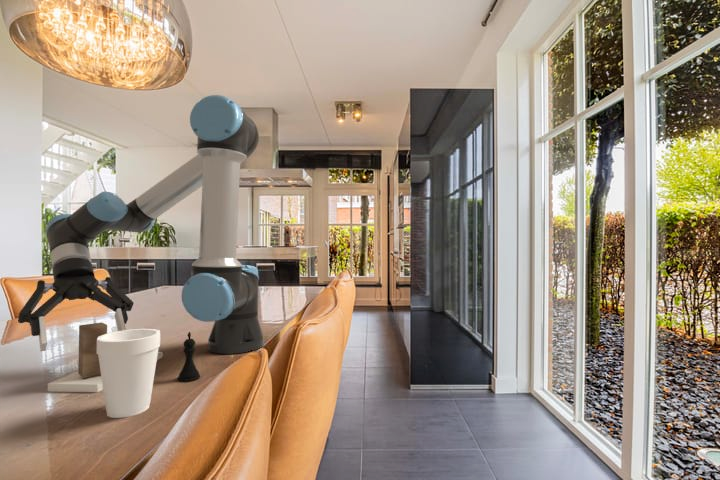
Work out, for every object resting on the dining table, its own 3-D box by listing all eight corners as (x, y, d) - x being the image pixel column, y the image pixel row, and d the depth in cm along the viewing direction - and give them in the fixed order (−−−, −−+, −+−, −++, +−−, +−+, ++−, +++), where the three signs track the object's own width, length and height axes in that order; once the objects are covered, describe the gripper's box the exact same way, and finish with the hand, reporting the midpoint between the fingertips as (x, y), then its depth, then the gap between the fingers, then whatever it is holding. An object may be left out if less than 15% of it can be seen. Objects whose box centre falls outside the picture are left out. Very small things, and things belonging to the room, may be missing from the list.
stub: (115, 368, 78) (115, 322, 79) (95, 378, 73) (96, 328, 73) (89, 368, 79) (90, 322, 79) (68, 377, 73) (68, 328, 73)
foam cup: (116, 398, 68) (117, 329, 68) (168, 397, 68) (169, 328, 69) (82, 423, 58) (83, 342, 58) (142, 421, 59) (143, 341, 59)
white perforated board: (162, 357, 93) (162, 351, 93) (97, 392, 71) (97, 384, 71) (124, 357, 93) (124, 350, 93) (47, 391, 71) (47, 383, 71)
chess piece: (174, 383, 75) (175, 335, 76) (180, 375, 80) (181, 330, 80) (197, 381, 76) (198, 333, 77) (201, 374, 81) (202, 329, 81)
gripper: (128, 274, 98) (146, 339, 88) (-2, 280, 79) (2, 364, 69) (135, 255, 95) (155, 321, 84) (0, 256, 76) (5, 341, 66)
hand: (86, 340), depth 77 cm, fingers open, 13 cm apart
